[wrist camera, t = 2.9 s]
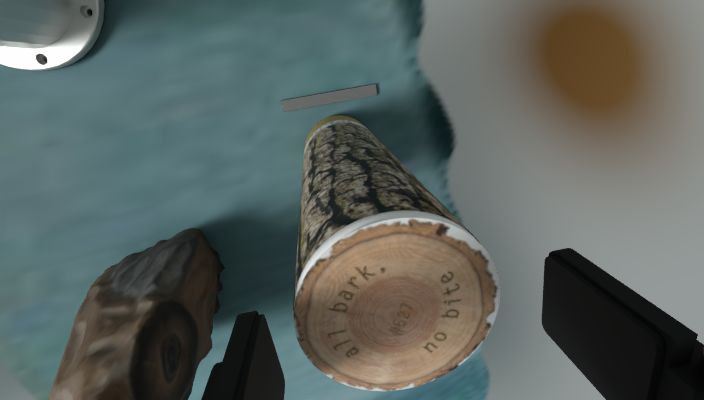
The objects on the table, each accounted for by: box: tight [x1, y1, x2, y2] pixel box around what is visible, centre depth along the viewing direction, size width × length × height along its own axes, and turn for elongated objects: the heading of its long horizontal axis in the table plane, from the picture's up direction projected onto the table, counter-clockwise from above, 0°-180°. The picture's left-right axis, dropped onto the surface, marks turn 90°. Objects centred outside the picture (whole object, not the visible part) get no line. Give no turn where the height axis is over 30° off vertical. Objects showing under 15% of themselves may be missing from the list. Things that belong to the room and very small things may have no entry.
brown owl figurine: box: [48, 228, 225, 400], centre depth 28 cm, size 13×13×20 cm
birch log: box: [293, 115, 500, 391], centre depth 23 cm, size 7×7×25 cm
